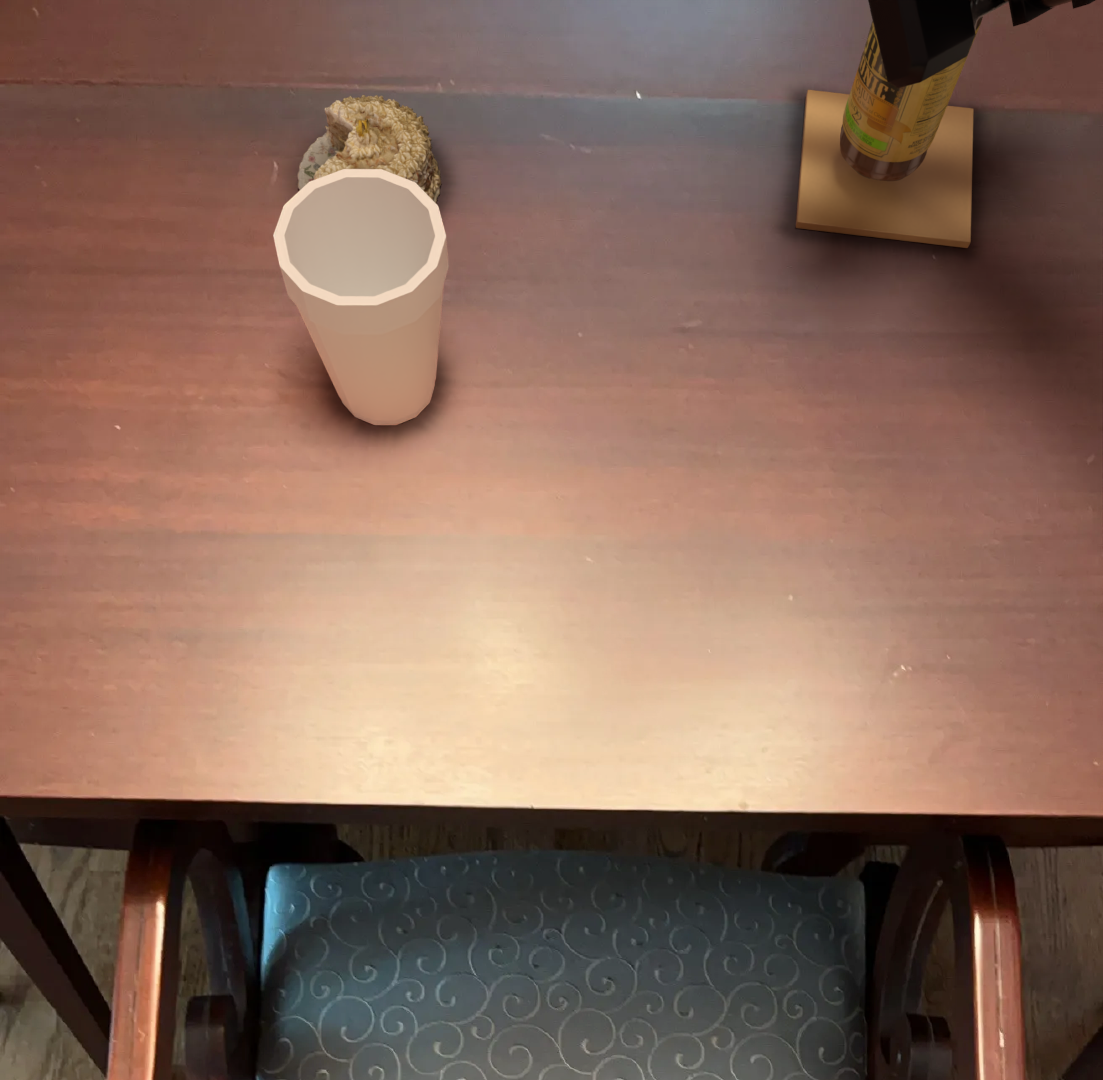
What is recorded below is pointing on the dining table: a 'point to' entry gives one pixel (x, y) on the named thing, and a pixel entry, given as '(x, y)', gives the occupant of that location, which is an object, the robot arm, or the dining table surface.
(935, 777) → the dining table surface
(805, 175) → the cork mat
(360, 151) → the cake
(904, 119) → the sauce bottle
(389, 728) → the dining table surface
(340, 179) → the foam cup
